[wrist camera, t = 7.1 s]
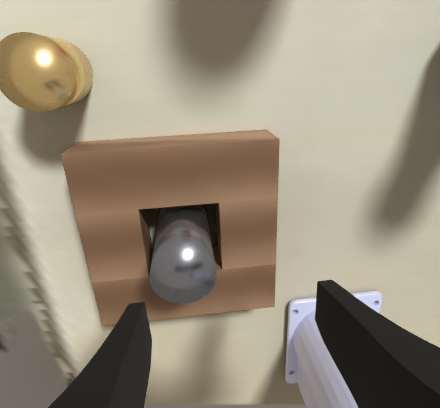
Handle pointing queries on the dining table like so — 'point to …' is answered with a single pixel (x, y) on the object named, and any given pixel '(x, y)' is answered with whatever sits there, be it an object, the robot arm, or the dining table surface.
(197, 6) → the dining table surface
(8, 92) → the short pin
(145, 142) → the hole block
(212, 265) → the long pin
